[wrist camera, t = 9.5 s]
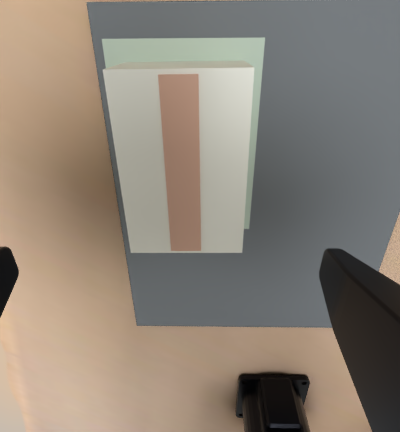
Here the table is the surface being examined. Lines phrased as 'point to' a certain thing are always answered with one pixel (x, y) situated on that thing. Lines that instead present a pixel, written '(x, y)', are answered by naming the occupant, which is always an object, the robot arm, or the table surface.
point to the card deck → (182, 152)
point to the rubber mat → (275, 149)
